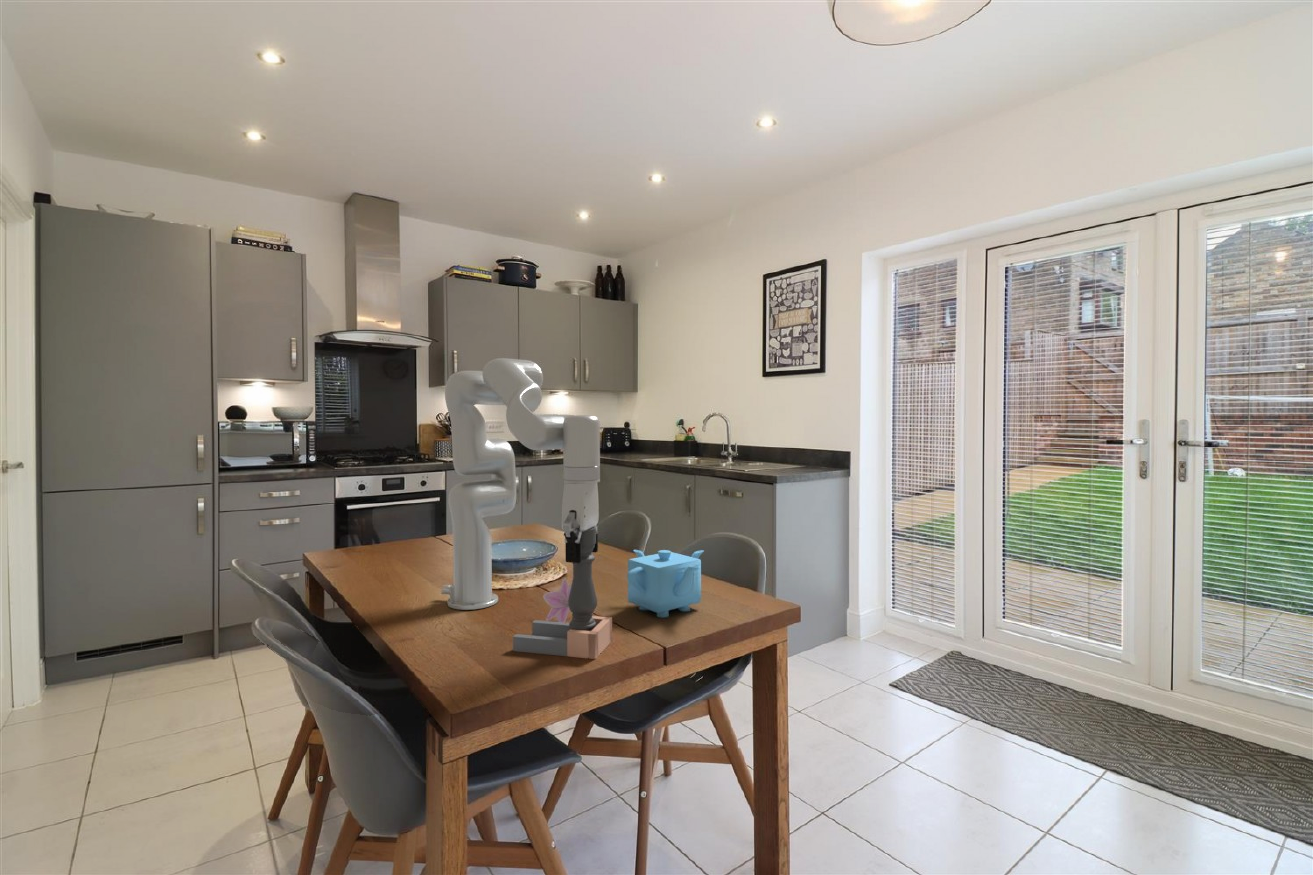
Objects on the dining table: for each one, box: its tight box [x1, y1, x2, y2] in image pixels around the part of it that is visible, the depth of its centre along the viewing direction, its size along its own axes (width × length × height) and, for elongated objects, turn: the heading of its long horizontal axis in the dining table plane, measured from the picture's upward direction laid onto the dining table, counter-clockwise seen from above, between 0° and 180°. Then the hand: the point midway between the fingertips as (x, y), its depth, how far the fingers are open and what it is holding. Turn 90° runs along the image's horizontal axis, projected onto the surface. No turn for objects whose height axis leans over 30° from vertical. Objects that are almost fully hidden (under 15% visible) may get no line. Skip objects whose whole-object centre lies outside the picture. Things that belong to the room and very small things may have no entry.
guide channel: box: [512, 615, 613, 660], centre depth 129 cm, size 18×10×5 cm, turn 76°
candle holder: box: [568, 527, 598, 631], centre depth 128 cm, size 6×6×25 cm
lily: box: [542, 577, 572, 623], centre depth 146 cm, size 12×12×10 cm
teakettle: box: [626, 549, 705, 619], centre depth 154 cm, size 19×19×15 cm
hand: (582, 556), depth 127 cm, fingers open, 9 cm apart
